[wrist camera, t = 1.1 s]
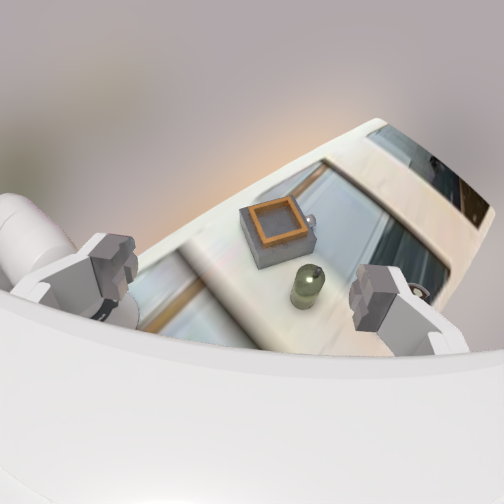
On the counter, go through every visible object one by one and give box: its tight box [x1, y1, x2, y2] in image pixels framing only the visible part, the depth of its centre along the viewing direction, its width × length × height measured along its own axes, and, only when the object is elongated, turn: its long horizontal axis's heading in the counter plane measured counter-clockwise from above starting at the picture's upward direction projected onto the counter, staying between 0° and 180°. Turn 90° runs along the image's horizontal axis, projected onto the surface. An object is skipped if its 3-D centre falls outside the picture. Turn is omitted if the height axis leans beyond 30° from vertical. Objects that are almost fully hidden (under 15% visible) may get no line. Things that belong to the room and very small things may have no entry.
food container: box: [407, 283, 430, 300], centre depth 56 cm, size 12×6×10 cm, turn 119°
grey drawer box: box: [239, 195, 317, 269], centre depth 68 cm, size 17×14×8 cm
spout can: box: [290, 264, 325, 310], centre depth 57 cm, size 6×6×13 cm
